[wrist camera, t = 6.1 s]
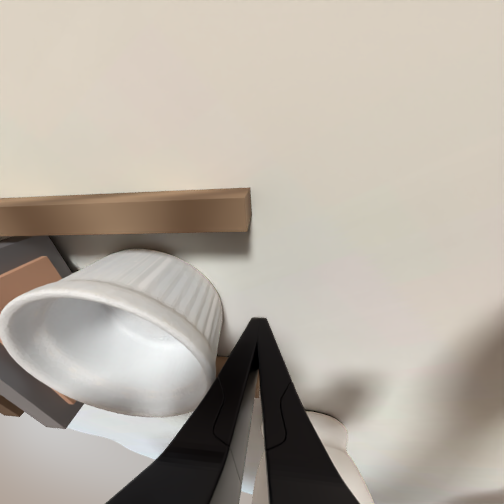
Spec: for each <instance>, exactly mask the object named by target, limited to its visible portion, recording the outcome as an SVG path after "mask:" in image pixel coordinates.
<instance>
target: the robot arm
mask: <svg viewBox="0 0 504 504" xmlns="http://www.w3.org/2000/svg"><path fill="white" fill-rule="evenodd" d="M258 369H259V380H260V394H261V407H262V420H263V434H264V447H265V461H266V474H267V487H268V501H269V504H360V503H359V501H358V500H357V499H356V497H355V496H354V495H353V493H352V492H351V491H350V489H349V488H348V486H347V485H346V484H345V482H344V480H343V479H342V477H341V476H340V474H339V473H338V471H337V469H336V467H335V466H334V464H333V462H332V460H331V459H330V457H329V455H328V453H327V451H326V449H325V447H324V446H323V444H322V442H321V440H320V438H319V436H318V434H317V432H316V431H315V429H314V427H313V425H312V423H311V421H310V419H309V417H308V415H307V413H306V411H305V409H304V407H303V405H302V403H301V401H300V399H299V396H298V394H297V392H296V389H295V387H294V384H293V382H292V380H291V377H290V375H289V372H288V370H287V367H286V365H285V362H284V360H283V358H282V355H281V353H280V350H279V348H278V345H277V343H276V340H275V338H274V335H273V333H272V331H271V328H270V326H269V323H268V321H267V319H266V318H252V319H251V320H250V322H249V324H248V325H247V327H246V329H245V330H244V332H243V334H242V335H241V337H240V339H239V341H238V342H237V344H236V346H235V347H234V349H233V351H232V352H231V354H230V356H229V357H228V359H227V361H226V362H225V364H224V366H223V367H222V369H221V371H220V372H219V374H218V377H216V379H215V381H214V382H213V384H212V385H211V387H210V389H209V390H208V392H207V393H206V395H205V397H204V398H203V399H202V401H201V402H200V404H199V405H198V406H197V408H196V409H195V411H194V412H193V413H192V415H191V416H190V417H189V419H188V420H187V421H186V423H185V424H184V425H183V427H182V428H181V429H180V431H179V432H178V434H177V435H176V436H175V438H174V439H173V440H172V442H171V443H170V444H169V445H168V447H167V448H166V449H165V450H164V452H163V453H162V454H161V455H160V456H159V457H158V458H157V459H156V460H155V461H154V462H153V463H152V464H151V465H150V466H148V467H147V468H146V469H145V470H144V471H142V472H141V473H140V474H139V475H138V476H137V477H136V478H134V480H132V481H131V482H130V483H129V484H127V485H126V486H125V487H124V488H123V489H122V490H120V491H119V492H118V493H117V494H116V495H115V496H114V497H112V498H111V499H110V500H109V501H108V502H106V504H239V500H240V493H241V485H242V480H243V473H244V466H245V459H246V452H247V445H248V438H249V431H250V424H251V417H252V411H253V404H254V397H255V390H256V383H257V376H258Z"/></svg>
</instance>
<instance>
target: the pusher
mask: <svg viewBox="0 0 504 504" xmlns="http://www.w3.org/2000/svg"><path fill="white" fill-rule="evenodd" d="M71 274H72V272H71V271H70V269H69V268H68V266H67V264H66V263H65V261H64V260H63V258H62V257H61V255H60V253H59V252H58V250H57V249H56V247H55V246H54V244H53V242H52V241H51V239H50V238H49V236H48V235H44V236H13V237H10V238H7V239H4V240H1V241H0V314H1V311H2V310H3V309H4V307H5V306H6V305H7V304H8V303H9V302H10V301H12V300H13V299H15V298H16V297H18V296H20V295H22V294H24V293H26V292H28V291H31V290H33V289H35V288H38V287H41V286H44V285H46V284H49V283H53V282H57V281H59V280H61V279H63V278H65V277H67V276H69V275H71ZM0 395H2V396H3V397H5V398H6V399H7V400H9V401H10V402H12V403H13V404H15V405H16V406H17V407H19V408H20V409H22V410H23V411H24V412H26V413H27V414H29V415H30V416H32V417H33V418H34V419H36V420H37V421H39V422H40V423H41V424H43V425H44V426H46V427H51V428H62V429H66V428H67V426H68V425H69V424H70V422H71V421H72V419H73V418H74V417H75V415H76V414H77V413H78V411H79V410H80V409H81V407H82V406H83V405H84V403H82V402H79V401H77V400H74V399H72V398H69V397H68V396H65V395H63V394H61V393H59V392H58V391H56V390H54V389H53V388H50V387H49V386H47V385H46V384H44V383H43V382H41V381H39V380H38V379H36V378H35V377H33V376H32V375H31V374H29V373H28V372H27V371H26V370H25V369H23V368H22V367H21V366H20V365H19V364H18V363H17V362H16V361H15V360H14V359H13V358H12V357H11V356H10V354H9V353H8V351H7V350H6V348H5V347H4V345H3V343H2V340H1V339H0Z"/></svg>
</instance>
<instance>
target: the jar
mask: <svg viewBox="0 0 504 504" xmlns="http://www.w3.org/2000/svg"><path fill="white" fill-rule="evenodd" d="M306 413H307V415H308V417H309V419H310V421H311V423H312V425H313V427H314V429H315V431H316V432H317V434H318V436H319V438H320V440H321V442H322V444H323V446H324V447H325V449H326V451H327V453H328V455H329V457H330V459H331V460H332V462H333V464H334V466H335V467H336V469H337V471H338V473H339V474H340V476H341V477H342V479H343V480H344V482H345V484H346V485H347V486H348V488H349V489H350V491H351V492H352V493H353V495H354V496H355V497H356V499H357V500H358V501H359V503H360V504H374V501H373V499H372V497H371V494H370V492H369V490H368V488H367V486H366V483H365V481H364V479H363V478H362V476H361V474H360V472H359V470H358V468H357V467H356V465H355V463H354V462H353V460H352V458H351V457H350V456H349V455H348V453H347V450H346V446H347V441H348V433H347V430H346V428H345V426H344V425H343V424H342V423H341V422H339V421H338V420H336V419H335V418H332V417H330V416H328V415H325V414H321V413H317V412H311V411H306ZM261 433H262V436H263V439H264V434H263V423H262V425H261ZM252 504H269V501H268V487H267V474H266V461H265V451H264V452H263V455H262V457H261V460H260V463H259V467H258V470H257V474H256V479H255V484H254V490H253V497H252Z"/></svg>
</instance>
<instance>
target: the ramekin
mask: <svg viewBox="0 0 504 504" xmlns="http://www.w3.org/2000/svg"><path fill="white" fill-rule="evenodd" d="M221 325H222V306H221V301H220V298H219V295H218V293H217V291H216V290H215V288H214V286H213V285H212V284H211V282H210V281H209V280H208V279H207V278H206V277H205V276H204V275H203V274H202V273H201V272H200V271H198V270H197V269H196V268H195V267H193V266H192V265H190V264H189V263H187V262H185V261H183V260H181V259H179V258H177V257H175V256H172V255H170V254H167V253H164V252H159V251H155V250H149V249H127V250H122V251H119V252H115V253H112V254H110V255H108V256H106V257H104V258H102V259H100V260H98V261H96V262H94V263H92V264H90V265H89V266H87V267H85V268H83V269H81V270H79V271H77V272H75V273H73V274H71V275H69V276H67V277H65V278H63V279H61V280H59V281H57V282H53V283H49V284H46V285H44V286H41V287H38V288H35V289H33V290H31V291H28V292H26V293H24V294H22V295H20V296H18V297H16V298H15V299H13V300H12V301H10V302H9V303H8V304H7V305H6V306H5V307H4V309H3V310H2V311H1V314H0V339H1V340H2V343H3V345H4V347H5V348H6V350H7V351H8V353H9V354H10V356H11V357H12V358H13V359H14V360H15V361H16V362H17V363H18V364H19V365H20V366H21V367H22V368H23V369H25V370H26V371H27V372H28V373H29V374H31V375H32V376H33V377H35V378H36V379H38V380H39V381H41V382H43V383H44V384H46V385H47V386H49V387H50V388H53V389H54V390H56V391H58V392H59V393H61V394H63V395H65V396H68V397H69V398H72V399H74V400H77V401H79V402H82V403H85V404H87V405H91V406H94V407H96V408H100V409H104V410H106V411H111V412H115V413H118V414H125V415H130V416H139V417H170V416H177V415H181V414H186V413H189V412H192V411H194V410H195V409H196V408H197V406H198V405H199V404H200V402H201V401H202V399H203V398H204V397H205V395H206V393H207V392H208V390H209V389H210V387H211V385H212V384H213V382H214V381H215V379H216V363H215V362H216V355H217V349H218V343H219V337H220V331H221Z"/></svg>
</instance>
